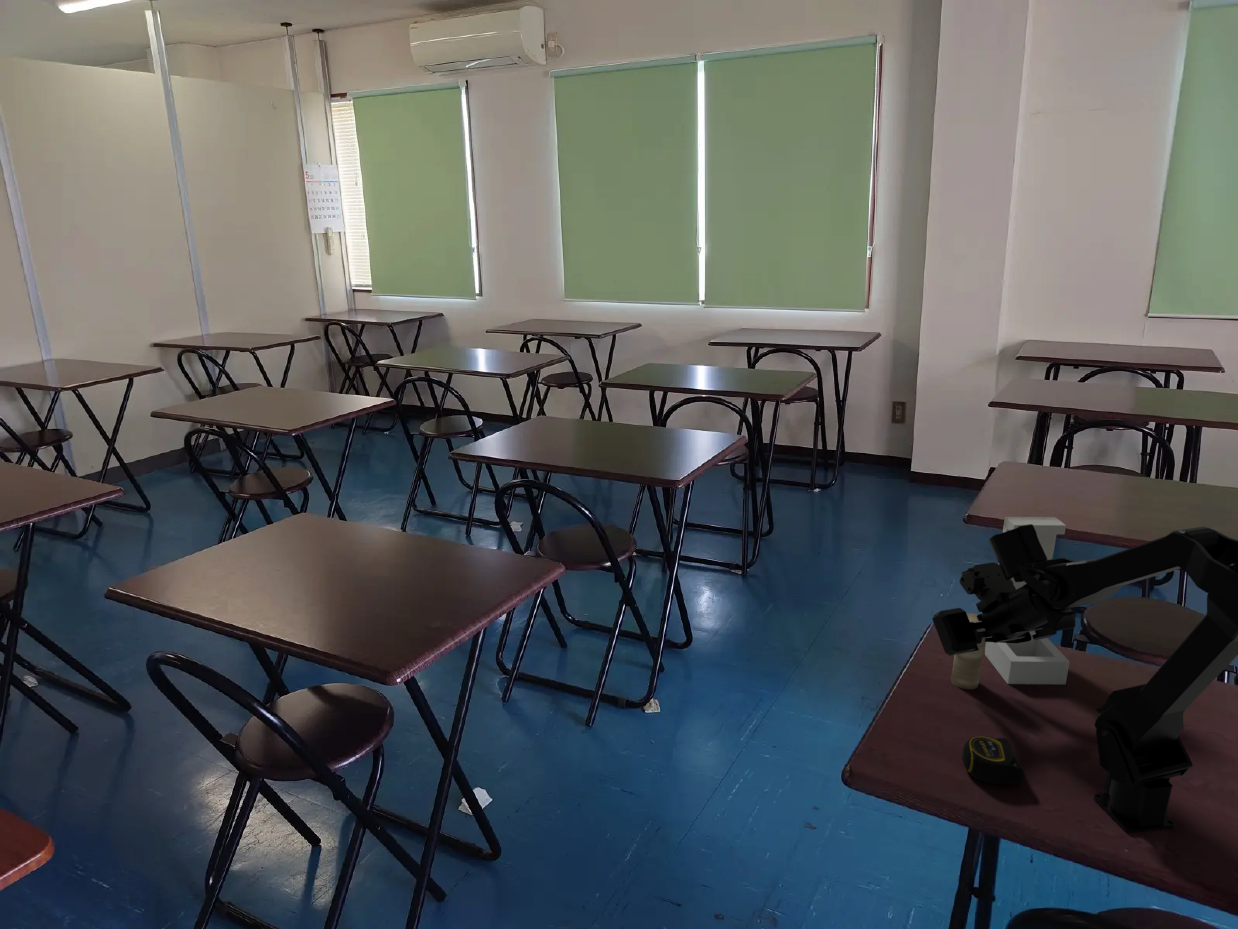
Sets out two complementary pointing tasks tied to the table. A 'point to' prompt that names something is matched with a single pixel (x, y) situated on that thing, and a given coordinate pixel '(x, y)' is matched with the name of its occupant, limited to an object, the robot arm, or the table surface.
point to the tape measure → (992, 760)
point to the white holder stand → (1034, 656)
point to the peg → (968, 664)
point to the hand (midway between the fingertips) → (964, 640)
